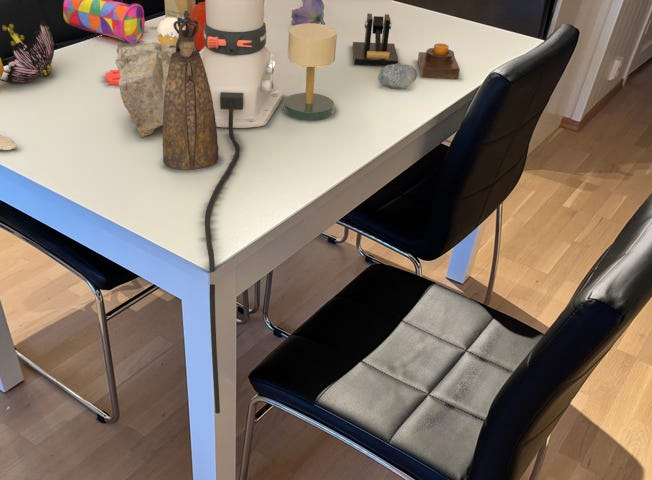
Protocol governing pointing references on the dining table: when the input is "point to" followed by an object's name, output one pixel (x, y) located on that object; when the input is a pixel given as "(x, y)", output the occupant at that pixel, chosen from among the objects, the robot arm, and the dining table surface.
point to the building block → (113, 77)
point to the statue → (188, 106)
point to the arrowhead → (6, 143)
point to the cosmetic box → (178, 8)
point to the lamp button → (440, 49)
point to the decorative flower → (30, 55)
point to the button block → (438, 65)
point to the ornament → (168, 31)
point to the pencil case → (106, 18)
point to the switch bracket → (363, 47)
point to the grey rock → (397, 75)
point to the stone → (144, 82)
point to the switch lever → (377, 40)
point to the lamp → (310, 68)
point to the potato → (1, 68)
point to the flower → (309, 13)
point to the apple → (199, 24)
